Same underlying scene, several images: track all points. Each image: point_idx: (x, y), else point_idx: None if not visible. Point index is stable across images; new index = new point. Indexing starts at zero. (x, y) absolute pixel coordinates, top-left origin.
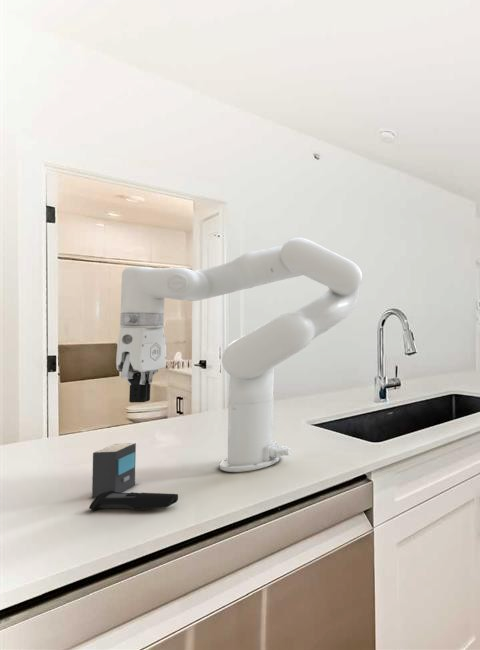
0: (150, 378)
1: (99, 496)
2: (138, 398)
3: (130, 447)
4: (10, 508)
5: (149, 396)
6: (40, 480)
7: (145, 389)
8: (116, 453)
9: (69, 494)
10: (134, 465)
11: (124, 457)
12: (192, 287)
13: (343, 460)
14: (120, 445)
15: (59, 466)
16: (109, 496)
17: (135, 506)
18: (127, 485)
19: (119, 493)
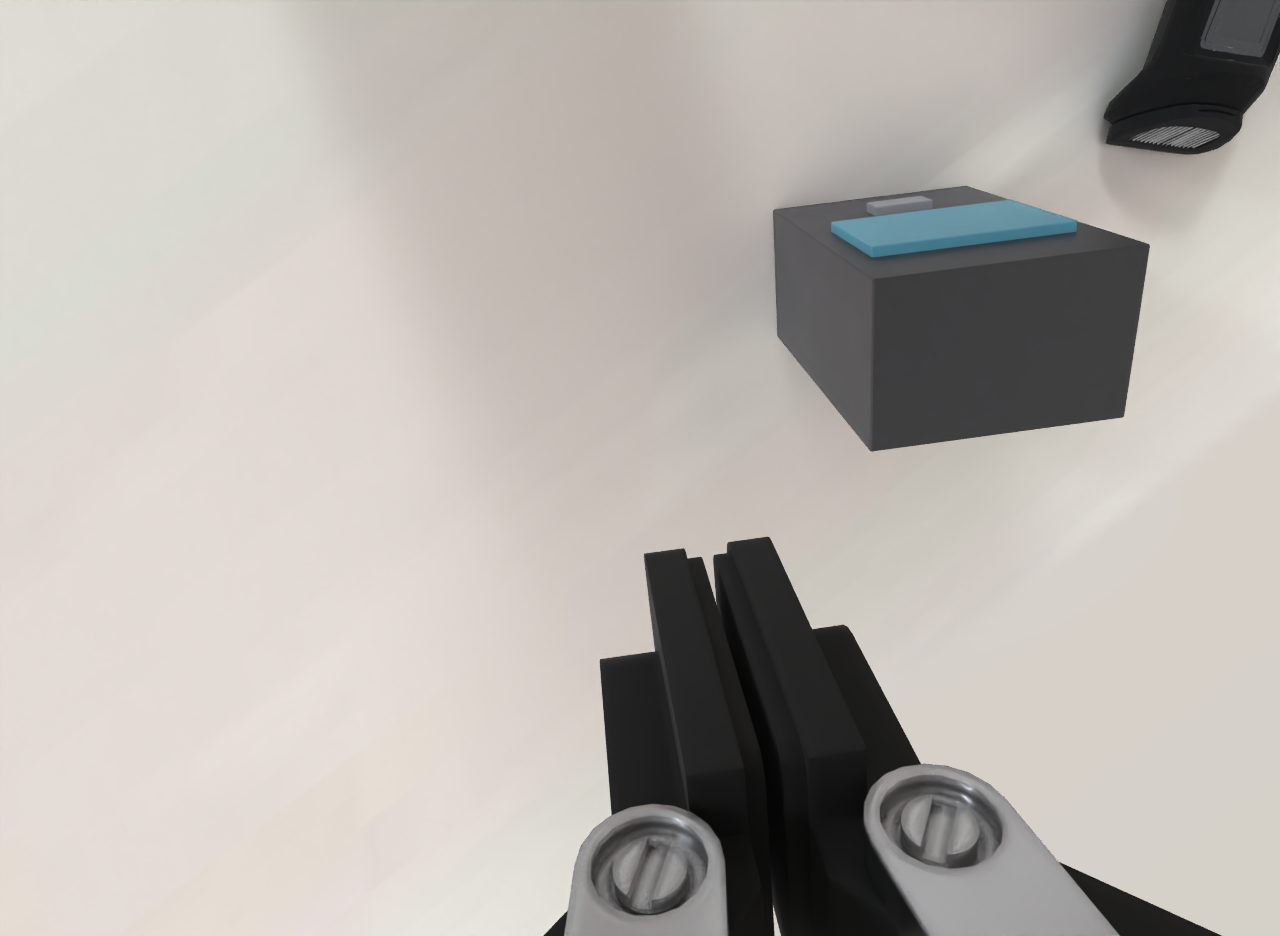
0: (657, 921)
1: (1236, 113)
2: (838, 630)
3: (945, 263)
4: (1009, 594)
5: (664, 587)
6: None
7: (824, 677)
8: (1130, 240)
9: (871, 482)
10: (843, 222)
11: (1012, 227)
12: None
13: None
14: (937, 361)
15: (413, 878)
16: (1257, 40)
17: None
18: (859, 203)
19: (1211, 13)
